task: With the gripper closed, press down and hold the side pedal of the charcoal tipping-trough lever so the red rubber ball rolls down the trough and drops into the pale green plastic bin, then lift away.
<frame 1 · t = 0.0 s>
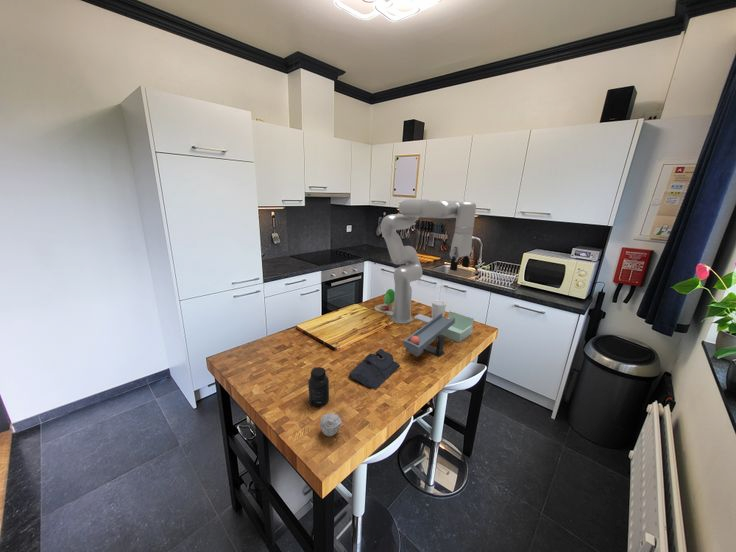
hand: (459, 268, 131), 37 cm above the kitchen island, tool pointing down, fingers open, 9 cm apart
folded navy shirt: (373, 371, 117), on the kitchen island
lever stand: (429, 349, 134), on the kitchen island
grey rounded piece: (330, 434, 86), on the kitchen island
ball: (414, 340, 122), point 9 cm above the kitchen island, tilted 6°, touching lever
white cup: (437, 318, 167), on the kitchen island
lever: (423, 330, 134), point 8 cm above the kitchen island, hinge at 8.0°, touching ball
supplement bottle: (319, 401, 99), on the kitchen island
cactus trinket dish: (385, 308, 180), on the kitchen island
bin: (453, 333, 149), on the kitchen island
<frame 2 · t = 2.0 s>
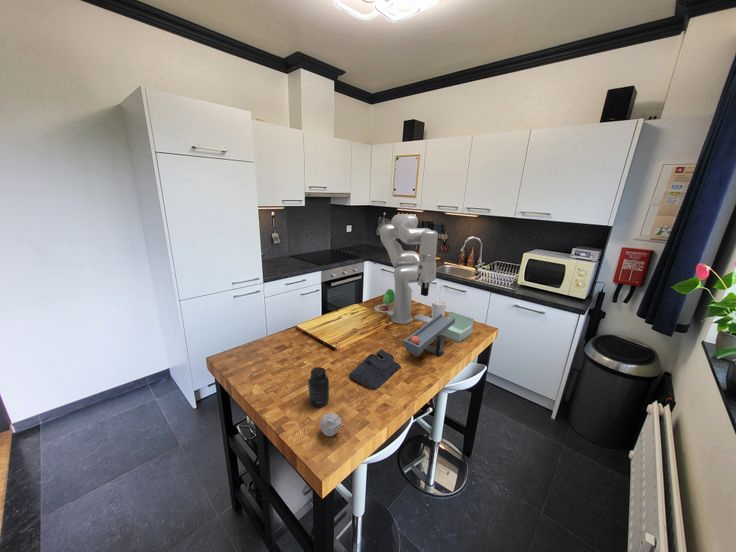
hand: (424, 295, 137), 23 cm above the kitchen island, tool pointing down, fingers closed
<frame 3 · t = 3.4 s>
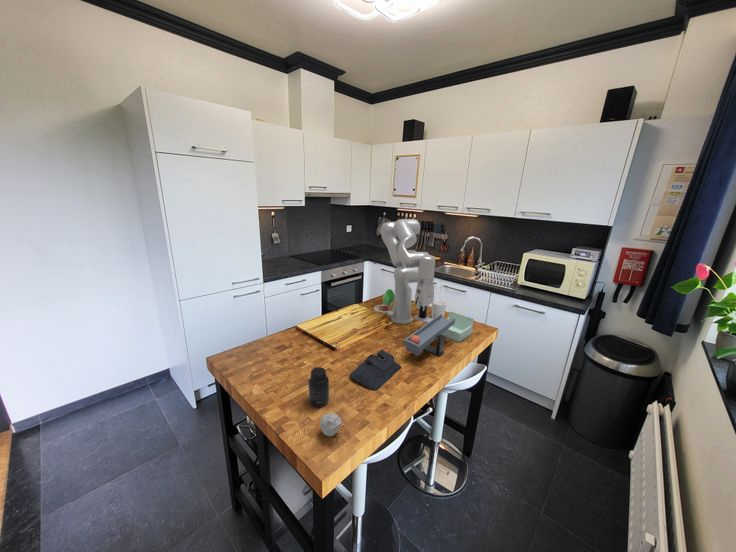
hand: (422, 317, 140), 12 cm above the kitchen island, tool pointing down, fingers closed
lever: (423, 330, 134), point 8 cm above the kitchen island, hinge at 6.6°, touching ball, gripper
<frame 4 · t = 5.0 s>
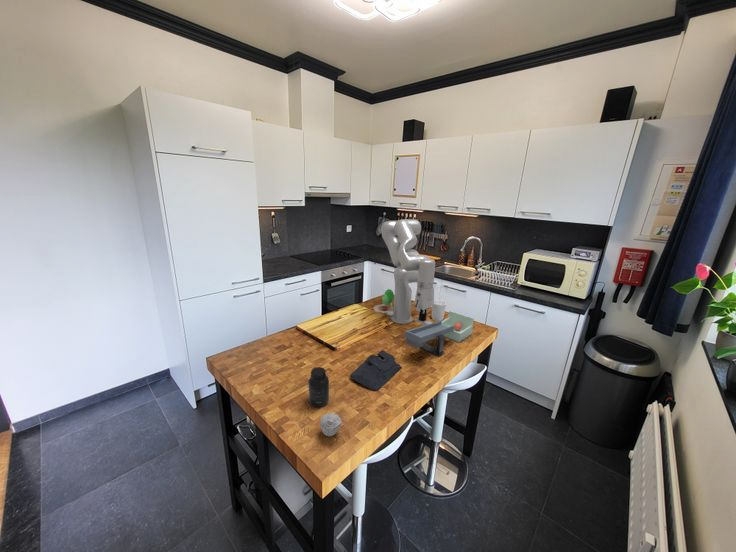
hand: (422, 320, 141), 10 cm above the kitchen island, tool pointing down, fingers closed
ball: (457, 326, 151), point 3 cm above the kitchen island, tilted 74°, touching bin
lever: (423, 330, 134), point 8 cm above the kitchen island, hinge at -8.4°, touching gripper
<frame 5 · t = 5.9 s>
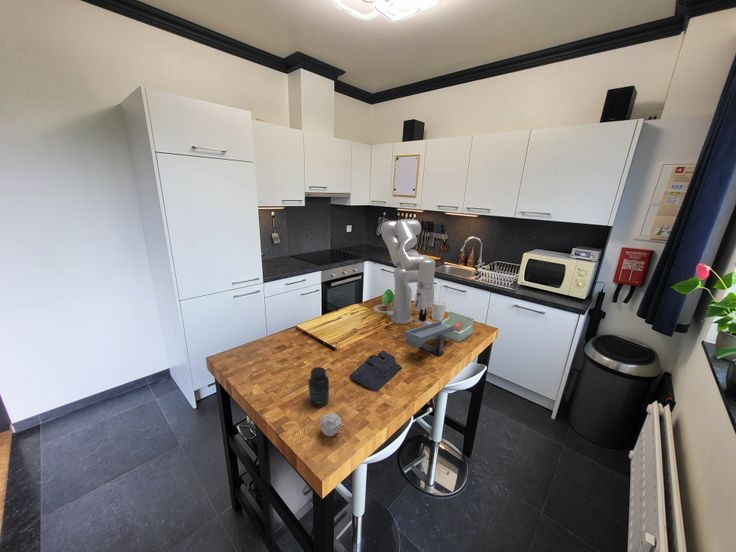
hand: (422, 320, 141), 10 cm above the kitchen island, tool pointing down, fingers closed
ball: (457, 326, 151), point 3 cm above the kitchen island, tilted 60°, touching bin
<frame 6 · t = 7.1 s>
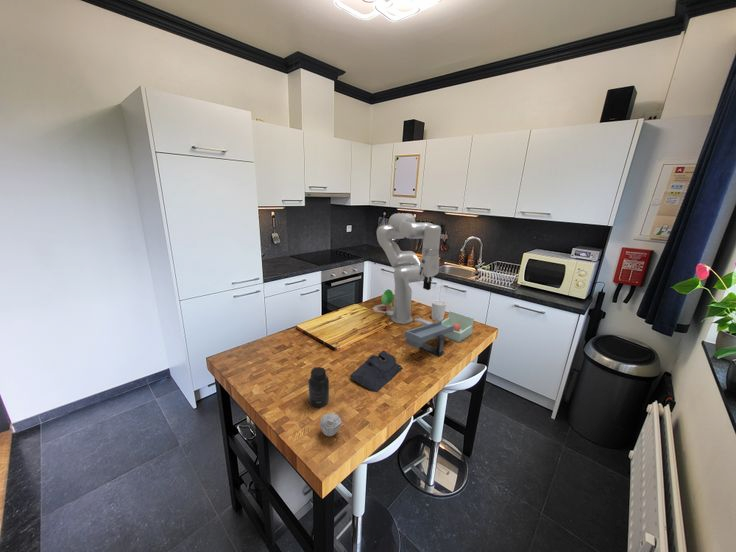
hand: (426, 289, 138), 26 cm above the kitchen island, tool pointing down, fingers closed
ball: (456, 327, 151), point 3 cm above the kitchen island, tilted 41°, touching bin
lever: (423, 330, 134), point 8 cm above the kitchen island, hinge at -8.4°
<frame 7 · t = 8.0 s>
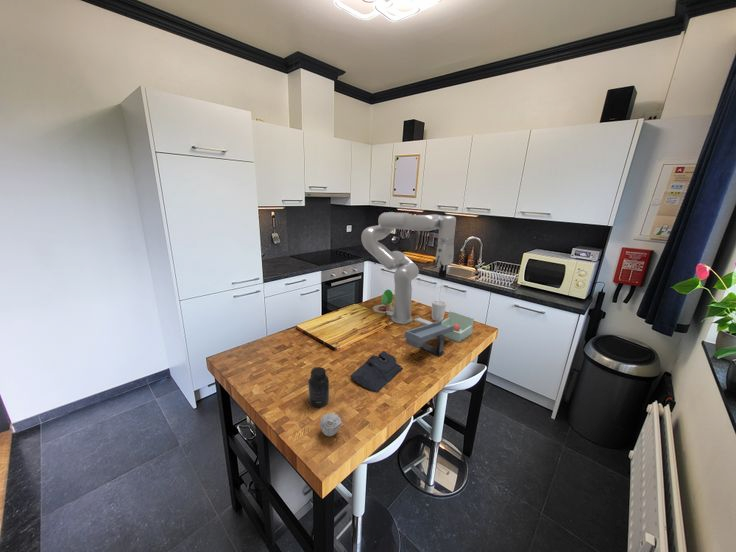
hand: (442, 277, 146), 29 cm above the kitchen island, tool pointing down, fingers closed
ball: (455, 327, 150), point 3 cm above the kitchen island, tilted 26°, touching bin
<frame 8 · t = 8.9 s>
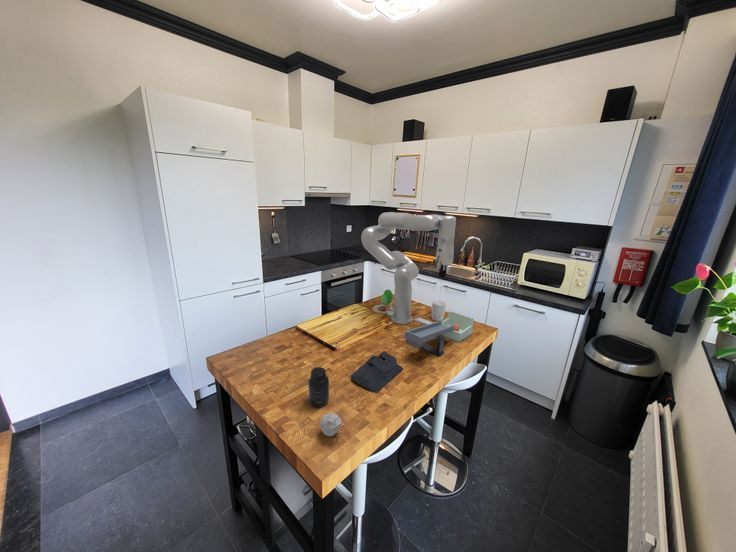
hand: (442, 277, 146), 29 cm above the kitchen island, tool pointing down, fingers closed
ball: (455, 327, 150), point 3 cm above the kitchen island, tilted 12°, touching bin
at the end: ball 1.5 cm from the bin (horizontally); ball point 2.8 cm above the kitchen island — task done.
